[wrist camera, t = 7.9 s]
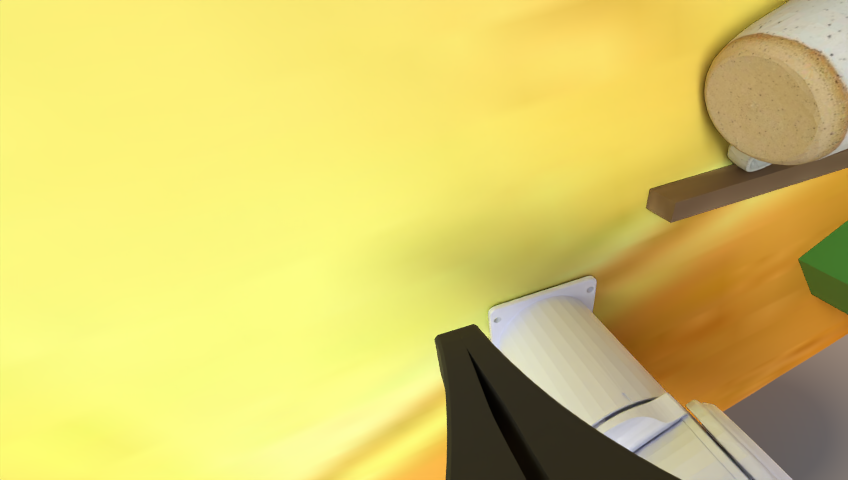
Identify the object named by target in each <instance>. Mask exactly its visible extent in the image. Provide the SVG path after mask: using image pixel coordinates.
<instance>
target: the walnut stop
mask: <svg viewBox="0 0 848 480" xmlns="http://www.w3.org/2000/svg"><path fill="white" fill-rule="evenodd" d="M845 168H848V149H845V150H843V151H840V152H838V153H835V154H832V155H830V156H827V157H825V158H822V159H820V160H816V161H812V162H808V163H805V164H801V165H778V164H771V165H768V166H766V167H764V168H762V169H760V170H757V171H753V172H747V171H745V170H743V169H741V168H740V167H739V166H737V165H736V164H733V165H730V166H726V167H723V168H720V169H716V170H713V171H709V172H706V173H703V174H699V175H696V176H693V177H689V178H686V179H682V180H679V181H676V182H672V183H669V184H665V185H662V186H659V187H655V188H652V189H650V192H649V197H648V202H647V207H646V208H647V209H648V210H650V211H652V212H654V213H655V214H657V215H659V216H660V217H662V218H664V219H665V220H667V221H669V222H670V223H671V222H675V221H678V220H681V219H684V218H688V217H691V216H694V215H697V214H700V213H704V212H707V211H710V210H713V209H716V208H720V207H723V206H726V205H729V204H732V203H736V202H739V201H742V200H745V199H749V198H752V197H755V196H758V195H761V194H765V193H768V192H771V191H774V190H777V189H781V188H784V187H787V186H790V185H793V184H797V183H800V182H803V181H806V180H809V179H813V178H816V177H819V176H822V175H826V174H829V173H832V172H835V171H838V170H842V169H845Z"/></svg>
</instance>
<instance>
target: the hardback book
mask: <svg viewBox="0 0 848 480" xmlns="http://www.w3.org/2000/svg"><path fill="white" fill-rule="evenodd" d="M798 260H799V263H800V265H801V268H802V270H803V273H804V276H805V278H806V281H807V283H808V286H809V289H810V291H811V294H813V295H814V296H816V297H818V298H820V299H821V300H823V301H825V302H827V303H828V304H830V305H832V306H834V307H835V308H837V309H839V310H841V311H843V312H844V313H846V314H848V221H847V222H845V223H844V224H843V225H841V226H840V227H839V228H838V229H836V230H835V231H834V232H832V233H831V234H830V235H829V236H827V237H826V238H825V239H823V240H822V241H821V242H820V243H818V244H817V245H816V246H815V247H813V248H812V249H811V250H809V251H808V252H807V253H806V254H804V255H803V256H802V257H800V258H799V259H798Z"/></svg>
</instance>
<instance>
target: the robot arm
mask: <svg viewBox="0 0 848 480" xmlns="http://www.w3.org/2000/svg"><path fill="white" fill-rule="evenodd" d="M596 284H597V280H596V279H595V278H594V277H593V276H587V277H583V278H580V279H577V280H574V281H571V282H568V283H565V284H562V285H559V286H556V287H552V288H549V289H546V290H543V291H540V292H537V293H534V294H531V295H528V296H524V297H521V298H518V299H515V300H512V301H509V302H506V303H503V304H500V305H497V306H494V307H492V308H491V309H490V310H489V311H488V318H489V329H490V340H491V341H490V340H489V339H488V338H487V337H486V336H485V335H484V333H483V332H482V331H481V330H480V329H479V328H478V326H476V325H474V324H472V325H469V326H466V327H463V328H459V329H456V330H453V331H450V332H447V333H443V334H440V335H437V337H436V338H435V344H436V349H437V355H438V360H439V366H440V372H441V376H442V379H443V382H444V386H445V392H446V409H447V467H446V480H792V479H791V478H790V477H789V476H788V475H787V474H786V473H785V472H784V471H783V470H782V469H781V468H780V467H779V466H778V465H777V464H776V463H775V462H774V461H773V460H772V459H771V458H770V457H769V456H768V455H767V454H766V453H765V452H764V451H763V450H762V449H761V448H760V447H759V446H758V445H757V444H756V443H755V442H754V441H753V440H752V439H751V438H749V436H748V435H746V434H745V433H744V432H743V431H742V430H741V429H740V428H739V427H738V426H737V425H736V424H735V423H734V422H733V421H732V420H731V419H730V418H728V416H726V415H725V414H724V413H723V412H722V411H721V410H720V409H719V408H718V407H716V406H715V405H714V404H709V403H704V402H703V403H700V402H699V401H698V400H692V401H691V402H689V403H688V404H686V406H687V408H688V409H689V410H690V411H691V412H692V413H693V414H694V415H695V416H696V417H697V418H698V419H699V421H700V422H701V423H702V425H703V426H704V427H705V428H706V430H707V431H708V432H709V433H710V434H711V435H712V436H713V437H714V438H715V439H716V440H717V441H716V440H715V439H714V438H713V437H712V436H711V435H710V434H709V433H708V432H707V431H706V430H705V429H704V428H703V427H702V426H701V425H700V423H699V422H698V421H697V420H696V419H695V418H694V417H693V416H692V415H691V414H690V413H689V412H688V411H687V410H686V409H685V408H684V407H683V406H682V405H681V404H680V403H679V402H677V401H676V400H675V399H674V398H673V397H672V396H671V395H670V394H669V393H667V392H666V391H665V390H664V388H663V387H662V386H661V385H660V384H659V383H658V382H657V381H656V380H655V379H654V378H653V377H652V376H651V375H650V374H649V373H648V371H647V370H646V369H645V368H644V367H643V366H642V365H641V364H640V363H639V362H638V361H637V360H636V359H635V358H634V357H633V355H632V354H631V353H630V352H629V351H628V350H627V349H626V348H625V347H624V346H623V345H622V344H621V343H620V342H619V341H618V340H617V338H616V337H615V336H614V335H613V334H612V333H611V332H610V331H609V330H608V329H607V328H606V327H605V326H604V325H603V324H602V322H601V321H600V320H599V319H598V318H597V317H596V316H595V315H594V314H593V306H594V299H595V291H596ZM495 318H496V319H495ZM719 444H720V445H719ZM721 446H722V447H721Z"/></svg>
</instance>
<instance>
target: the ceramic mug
mask: <svg viewBox="0 0 848 480" xmlns="http://www.w3.org/2000/svg"><path fill="white" fill-rule="evenodd" d="M704 92H705V102H706V107H707V111H708V114H709V116H710V119H711V120H712V122H713V124H714V126H715V127H716V129H717V130H718V132H719V133H720V134H721V135H722V136H723V137H724V139H725V140H726V141H727V142H729V143H730V145H729V147H728V153H727V156H728V158H729V159H730V160H731V161H732V162H733V163H735V164H736V165H737V166H739V167H740V168H741V169H743V170H745V171H747V172H753V171H757V170H760V169H762V168H764V167H766V166H768V165H771V164H778V165H801V164H805V163H808V162H812V161H816V160H820V159H822V158H825V157H827V156H830V155H832V154H835V153H838V152H840V151H843V150H845V149H848V0H789V1H788V2H786V3H785V4H783V5H782V6H780V7H779V8H777V9H775V10H774V11H772V12H770V13H769V14H767V15H765V16H764V17H762V18H761V19H759V20H757V21H756V22H754V23H753V24H751V25H750V26H749V27H747V28H746V29H745V30H743V31H742V32H741V33H739V34H738V35H737V36H736V37H735V38H734V39H732V40H731V41H730V42H729V43H728V44H727V45H726V46H725V47H724V48H723V49H722V50H721V51H720V52H719V54H718V55H717V56H716V57H715V58H714V60H713V62H712V64H711V66H710V68H709V71H708V73H707V76H706V81H705V88H704Z"/></svg>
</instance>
